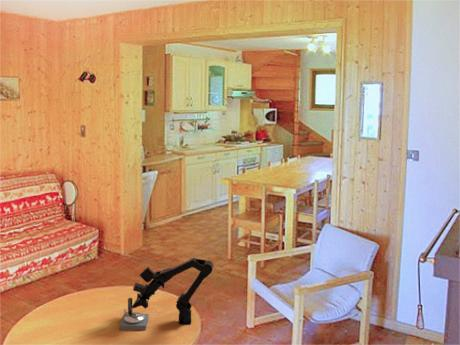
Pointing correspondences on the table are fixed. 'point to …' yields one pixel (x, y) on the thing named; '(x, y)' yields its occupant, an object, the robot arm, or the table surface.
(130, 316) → the grey round part
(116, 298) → the table surface
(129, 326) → the post base
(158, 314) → the table surface
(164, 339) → the table surface
